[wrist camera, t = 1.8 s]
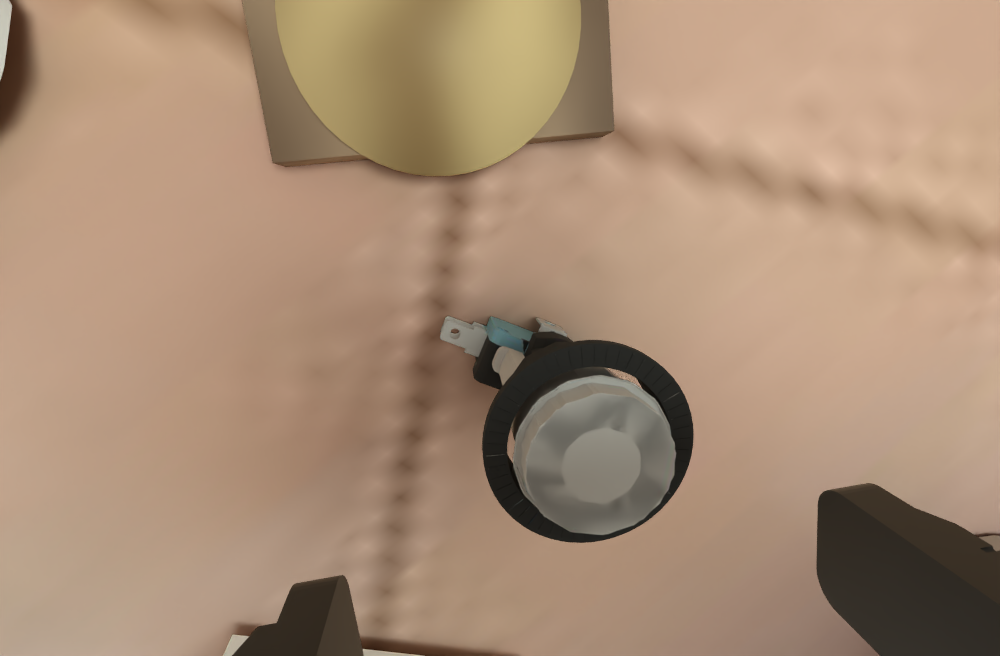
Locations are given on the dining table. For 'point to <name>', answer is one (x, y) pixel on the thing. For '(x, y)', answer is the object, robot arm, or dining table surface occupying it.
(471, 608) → the dining table surface
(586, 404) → the push button
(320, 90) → the gauge board
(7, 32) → the figurine
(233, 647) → the bracket
